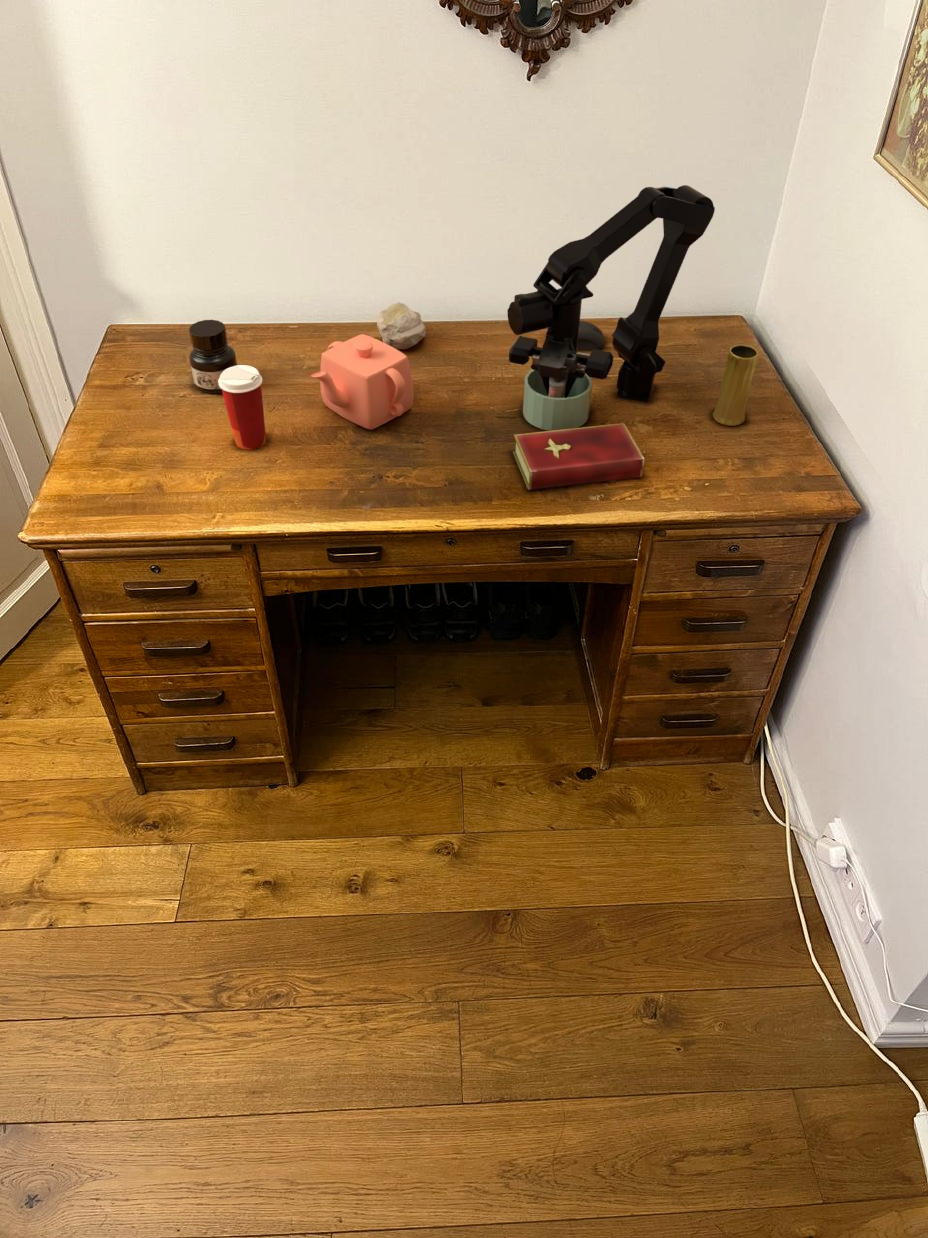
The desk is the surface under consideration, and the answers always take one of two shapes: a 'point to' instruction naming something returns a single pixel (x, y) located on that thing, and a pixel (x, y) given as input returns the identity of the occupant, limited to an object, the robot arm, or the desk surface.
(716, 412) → the vase
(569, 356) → the robot arm
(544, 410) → the pen pot
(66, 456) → the desk surface
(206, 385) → the ink bottle
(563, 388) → the lighter
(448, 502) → the desk surface
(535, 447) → the hardcover book
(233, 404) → the paper cup
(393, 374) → the teapot
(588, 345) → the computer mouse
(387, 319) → the grey rock
